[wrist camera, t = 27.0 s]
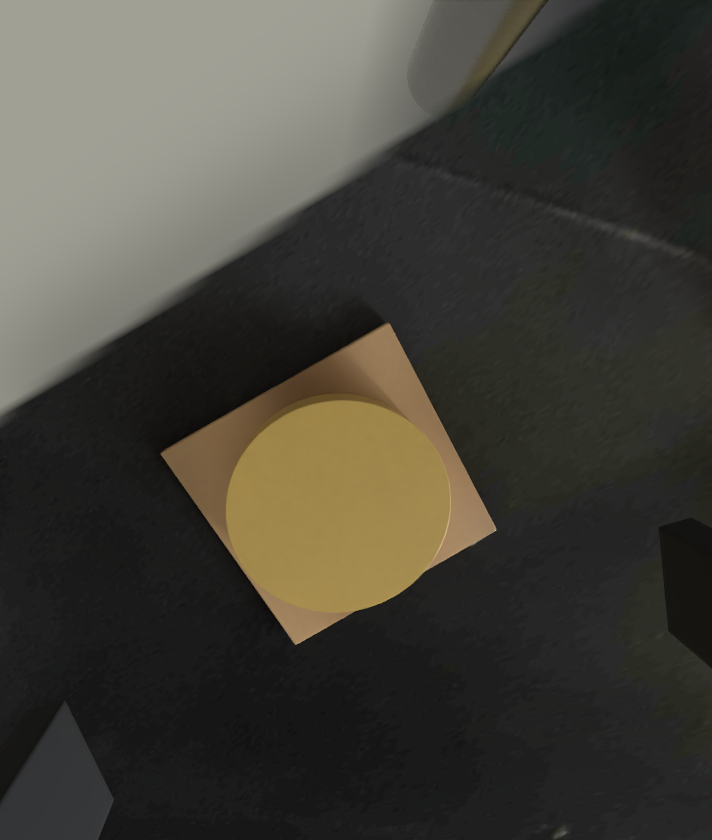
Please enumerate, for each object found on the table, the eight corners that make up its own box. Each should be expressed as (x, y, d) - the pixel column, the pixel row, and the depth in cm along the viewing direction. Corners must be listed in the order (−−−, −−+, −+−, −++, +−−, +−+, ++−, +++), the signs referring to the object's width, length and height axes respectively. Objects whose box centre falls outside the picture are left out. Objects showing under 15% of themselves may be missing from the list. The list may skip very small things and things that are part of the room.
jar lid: (264, 613, 21) (261, 639, 19) (201, 425, 19) (191, 435, 17) (455, 557, 21) (469, 578, 20) (415, 368, 19) (426, 373, 18)
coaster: (386, 322, 19) (389, 322, 19) (492, 525, 22) (497, 530, 21) (163, 449, 19) (159, 453, 19) (295, 637, 22) (295, 645, 21)
